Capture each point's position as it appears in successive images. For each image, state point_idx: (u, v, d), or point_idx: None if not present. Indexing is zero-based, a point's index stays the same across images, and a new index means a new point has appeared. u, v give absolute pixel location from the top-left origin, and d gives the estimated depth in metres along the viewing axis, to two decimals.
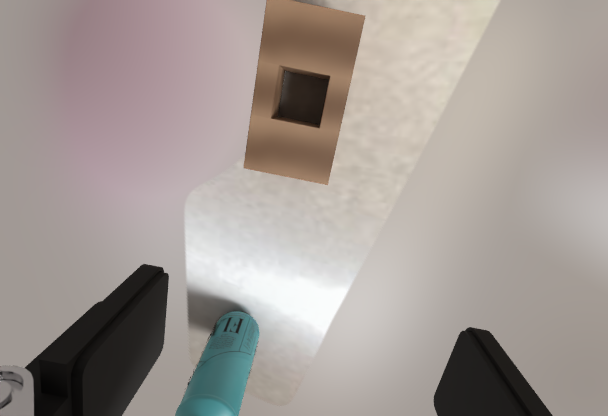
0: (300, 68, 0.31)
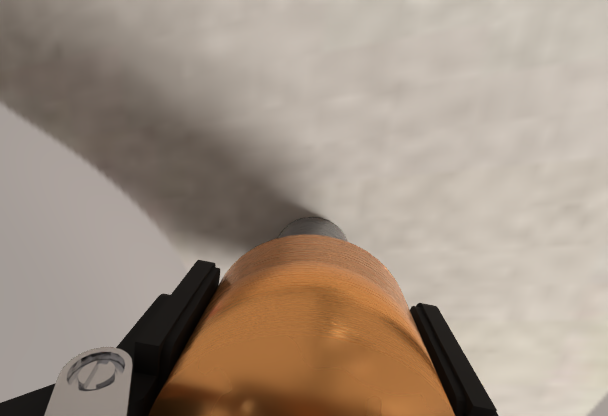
0: None
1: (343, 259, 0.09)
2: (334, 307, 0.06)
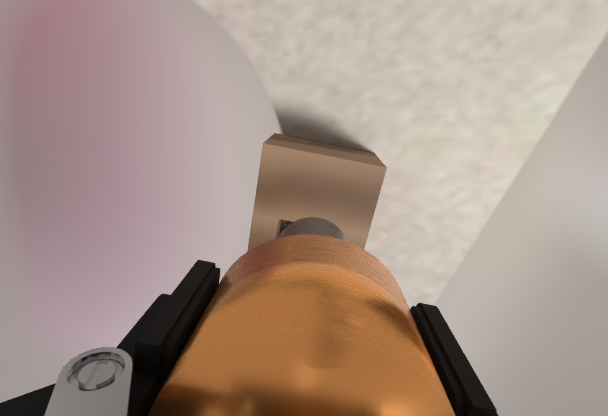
0: None
1: (343, 259, 0.09)
2: (334, 307, 0.06)
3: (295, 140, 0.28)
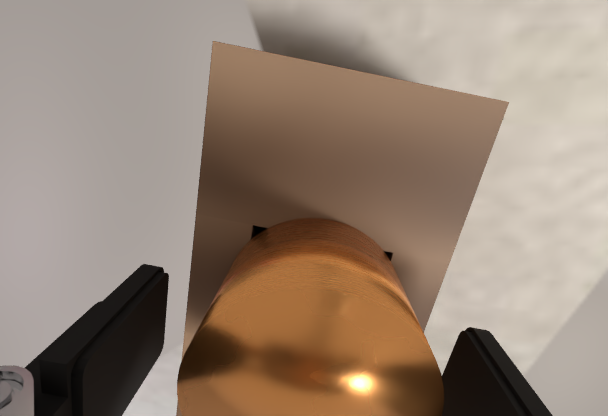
0: None
1: (343, 237, 0.10)
2: (335, 270, 0.08)
3: None
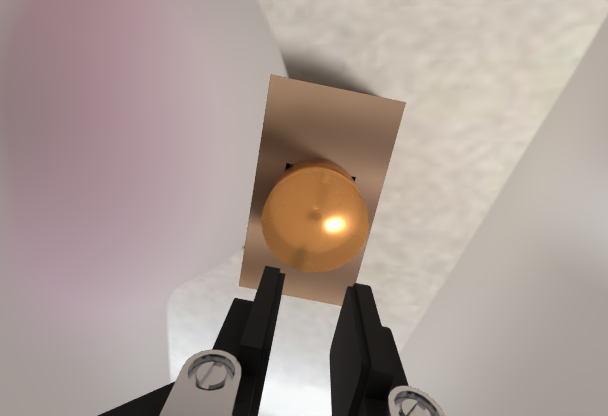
0: None
1: (330, 164, 0.22)
2: (325, 169, 0.20)
3: None
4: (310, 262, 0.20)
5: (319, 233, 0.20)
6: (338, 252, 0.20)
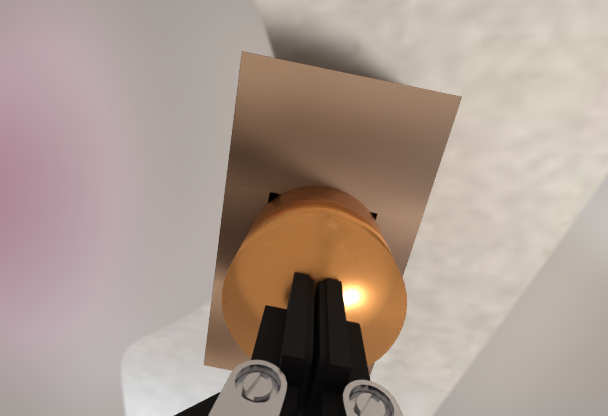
0: None
1: (338, 197, 0.13)
2: (332, 213, 0.11)
3: None
4: None
5: None
6: None
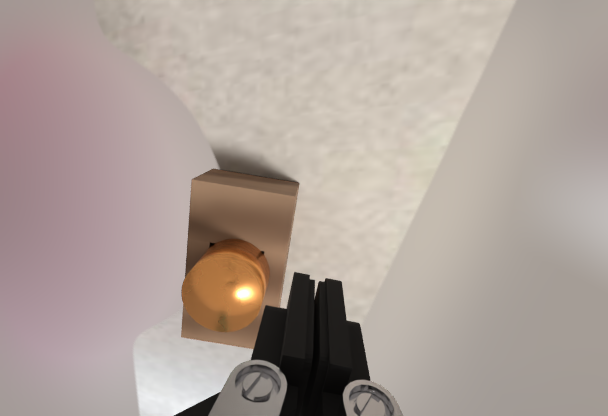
0: None
1: (239, 245, 0.28)
2: (228, 255, 0.26)
3: (227, 174, 0.32)
4: (221, 324, 0.27)
5: (226, 303, 0.26)
6: (242, 316, 0.26)
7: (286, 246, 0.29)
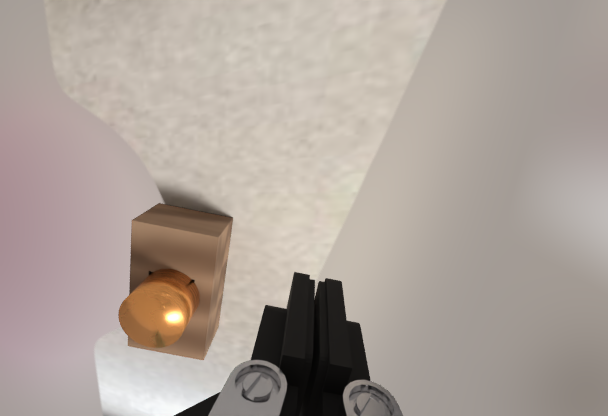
0: None
1: (171, 276, 0.34)
2: (157, 287, 0.32)
3: (169, 211, 0.38)
4: (152, 342, 0.33)
5: (155, 325, 0.32)
6: (168, 336, 0.32)
7: (212, 276, 0.35)
